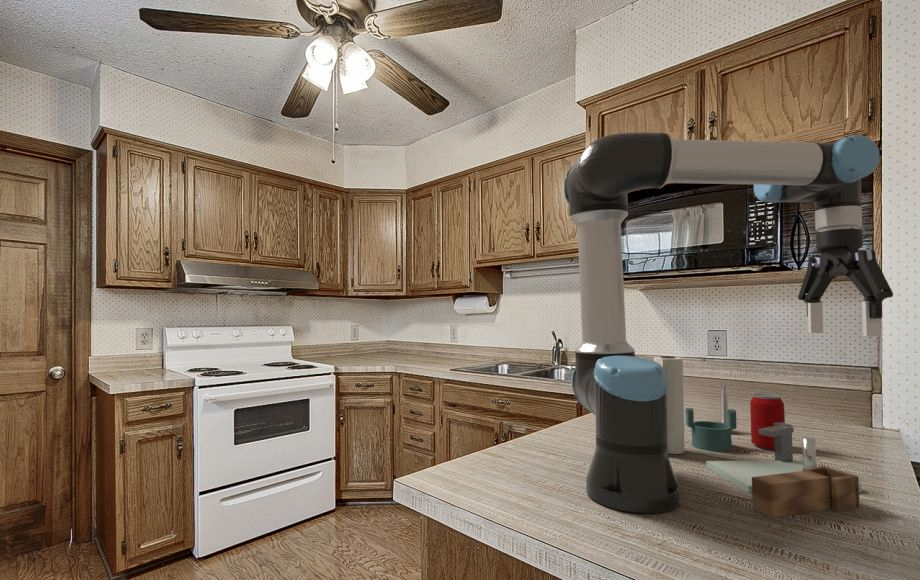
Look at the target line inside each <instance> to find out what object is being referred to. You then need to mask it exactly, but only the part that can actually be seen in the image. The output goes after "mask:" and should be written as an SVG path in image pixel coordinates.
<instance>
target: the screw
mask: <svg viewBox="0 0 920 580" xmlns="http://www.w3.org/2000/svg"><path fill="white" fill-rule="evenodd" d="M727 389H728V387H727V382H724V381H723V382H721V383H720V397H719V399H720V420H716V421H715V422H719V423H724V424H727V409H729V402H728V401H729V399H728V398H729V396H728V394H729V393H728V391H727Z"/></svg>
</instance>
